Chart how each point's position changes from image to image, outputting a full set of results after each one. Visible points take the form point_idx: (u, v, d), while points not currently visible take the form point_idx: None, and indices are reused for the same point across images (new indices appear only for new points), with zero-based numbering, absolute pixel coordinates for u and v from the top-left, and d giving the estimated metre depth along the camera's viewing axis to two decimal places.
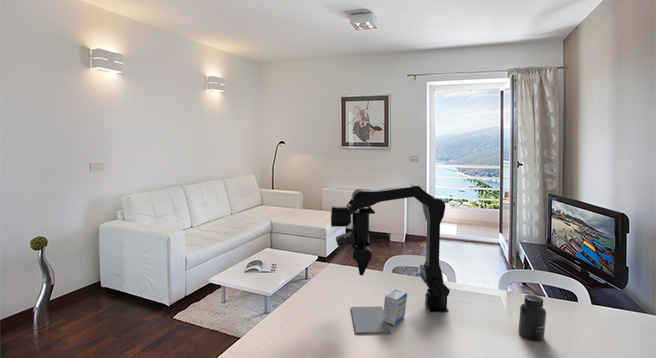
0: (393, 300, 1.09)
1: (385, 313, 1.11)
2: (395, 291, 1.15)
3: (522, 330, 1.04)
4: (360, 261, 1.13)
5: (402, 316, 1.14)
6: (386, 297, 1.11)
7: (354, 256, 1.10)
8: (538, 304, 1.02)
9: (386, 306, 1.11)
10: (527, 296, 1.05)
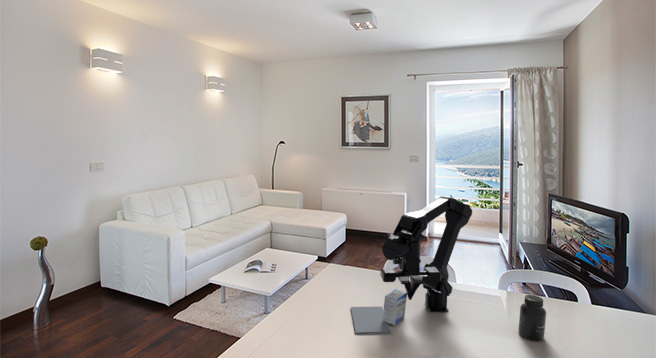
0: (393, 300, 1.09)
1: (385, 313, 1.11)
2: (395, 291, 1.15)
3: (522, 330, 1.04)
4: None
5: (402, 316, 1.14)
6: (386, 297, 1.11)
7: None
8: (538, 304, 1.02)
9: (386, 306, 1.11)
10: (527, 296, 1.05)
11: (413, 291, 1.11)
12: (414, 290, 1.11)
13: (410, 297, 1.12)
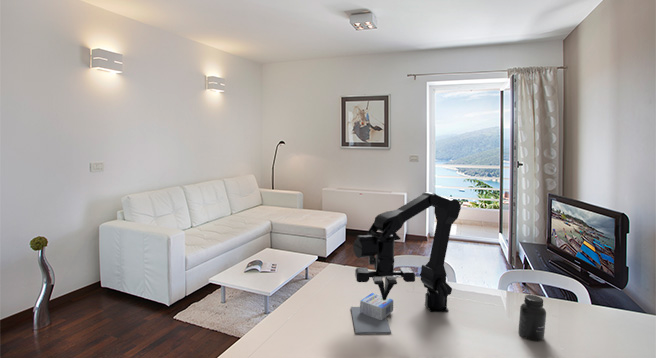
0: (361, 304, 1.17)
1: (374, 315, 1.14)
2: None
3: (522, 330, 1.04)
4: None
5: (388, 300, 1.17)
6: (360, 311, 1.17)
7: None
8: (538, 304, 1.02)
9: (368, 313, 1.15)
10: (527, 296, 1.05)
11: (387, 291, 1.11)
12: (388, 290, 1.11)
13: (384, 297, 1.12)
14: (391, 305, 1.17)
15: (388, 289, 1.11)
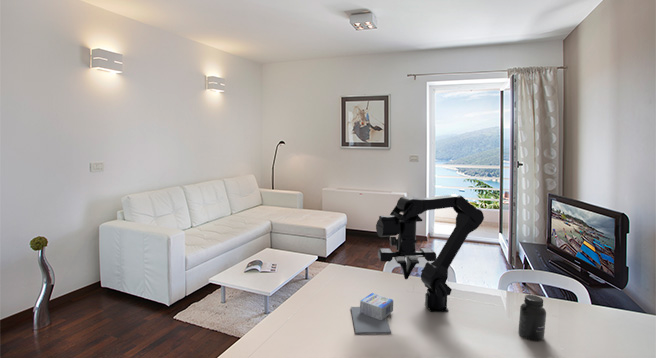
0: (361, 304, 1.17)
1: (374, 315, 1.14)
2: None
3: (522, 330, 1.04)
4: None
5: (388, 300, 1.17)
6: (360, 311, 1.17)
7: None
8: (538, 304, 1.02)
9: (368, 313, 1.15)
10: (527, 296, 1.05)
11: (409, 270, 1.16)
12: (410, 269, 1.15)
13: (406, 276, 1.17)
14: (391, 305, 1.17)
15: (410, 268, 1.15)
